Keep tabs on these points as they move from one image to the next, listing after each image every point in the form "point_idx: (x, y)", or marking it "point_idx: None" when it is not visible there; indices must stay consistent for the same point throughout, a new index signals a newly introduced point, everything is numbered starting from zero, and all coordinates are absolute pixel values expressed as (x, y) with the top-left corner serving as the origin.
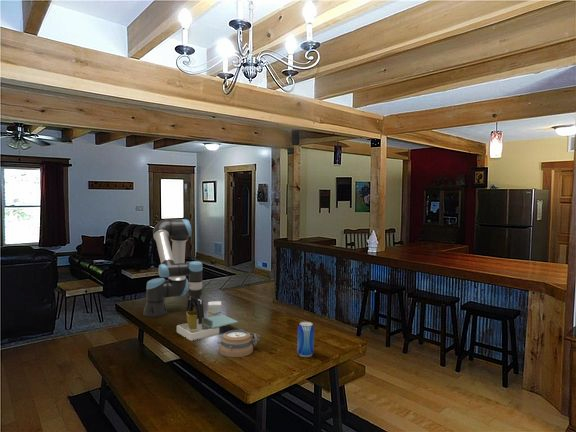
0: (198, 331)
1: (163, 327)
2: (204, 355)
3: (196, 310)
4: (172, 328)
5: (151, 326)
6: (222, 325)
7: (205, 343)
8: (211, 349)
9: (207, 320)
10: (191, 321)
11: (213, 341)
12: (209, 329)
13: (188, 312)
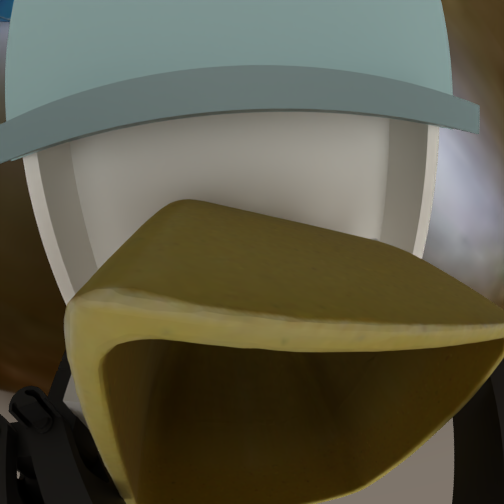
0: (234, 198)
1: (17, 363)
2: (499, 296)
3: (467, 494)
4: (36, 336)
5: (6, 390)
6: (438, 5)
7: (452, 246)
8: (499, 252)
9: (367, 113)
10: (350, 405)
11: (464, 187)
12: (431, 167)
13: (136, 485)
